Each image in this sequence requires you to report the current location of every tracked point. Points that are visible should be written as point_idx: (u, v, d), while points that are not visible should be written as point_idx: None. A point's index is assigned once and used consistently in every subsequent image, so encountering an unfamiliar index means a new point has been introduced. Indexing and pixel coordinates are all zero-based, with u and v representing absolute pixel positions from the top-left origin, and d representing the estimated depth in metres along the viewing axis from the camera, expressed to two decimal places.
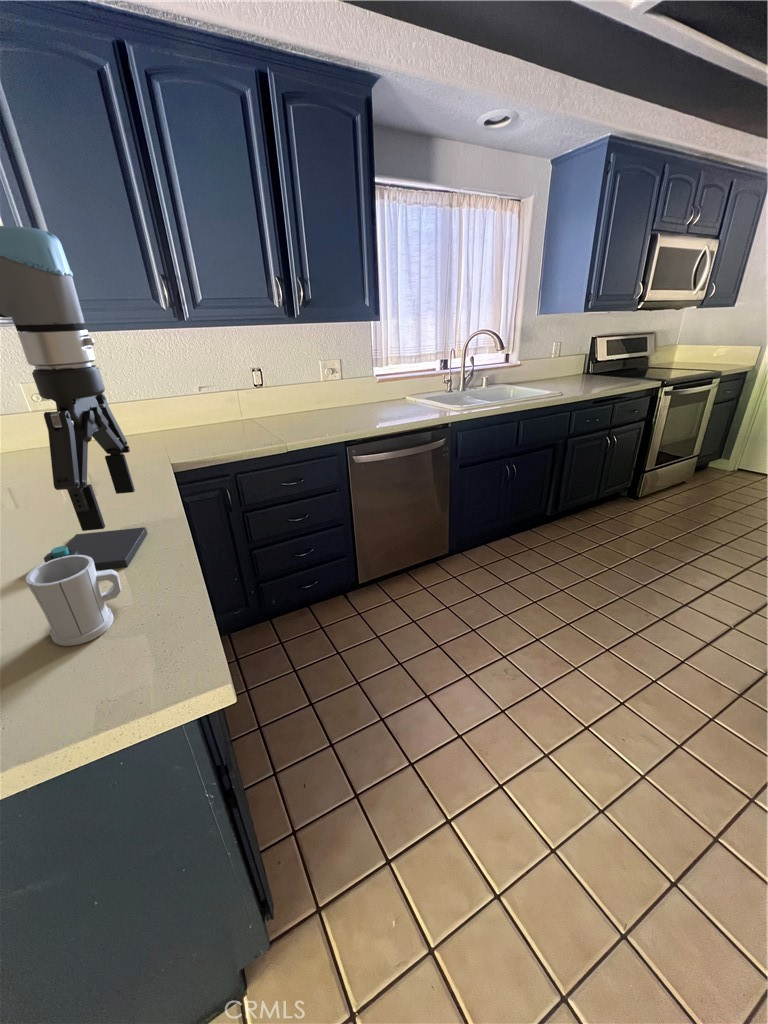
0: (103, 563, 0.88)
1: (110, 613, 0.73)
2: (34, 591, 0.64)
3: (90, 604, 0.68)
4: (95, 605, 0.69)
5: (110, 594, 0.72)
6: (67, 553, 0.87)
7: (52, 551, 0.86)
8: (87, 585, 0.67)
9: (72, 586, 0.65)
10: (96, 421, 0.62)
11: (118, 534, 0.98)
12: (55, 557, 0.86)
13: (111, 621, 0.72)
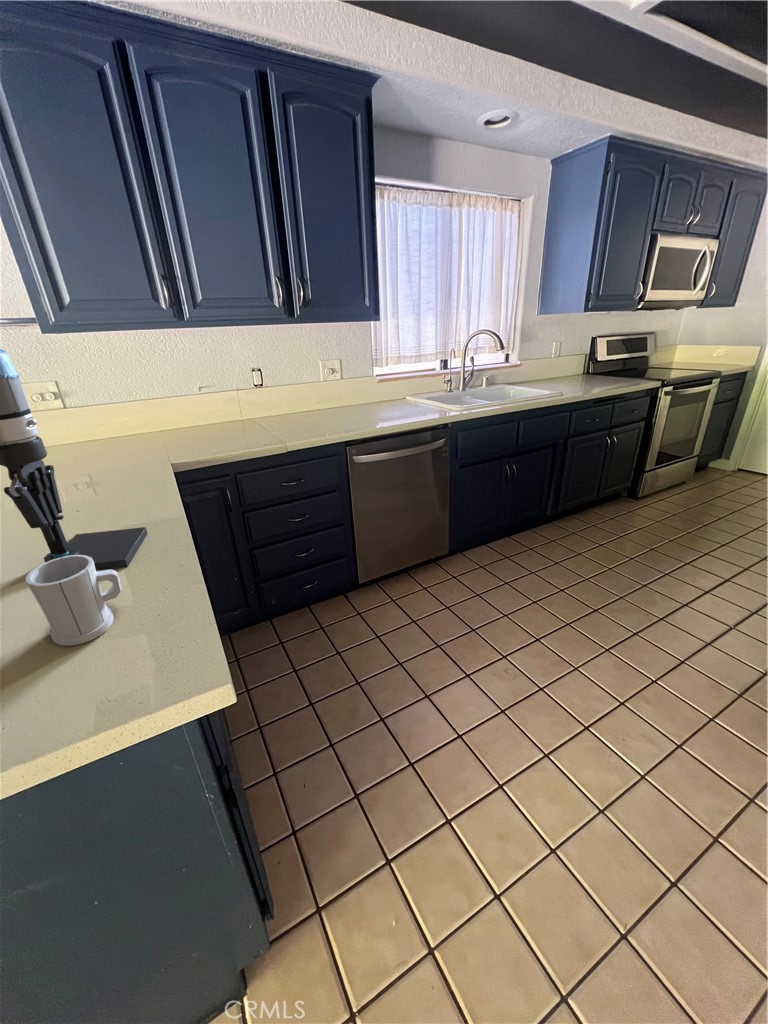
0: (103, 563, 0.88)
1: (110, 613, 0.73)
2: (34, 591, 0.64)
3: (90, 604, 0.68)
4: (95, 605, 0.69)
5: (110, 594, 0.72)
6: None
7: (53, 555, 0.87)
8: (87, 585, 0.67)
9: (72, 586, 0.65)
10: None
11: (118, 534, 0.98)
12: None
13: (111, 621, 0.72)
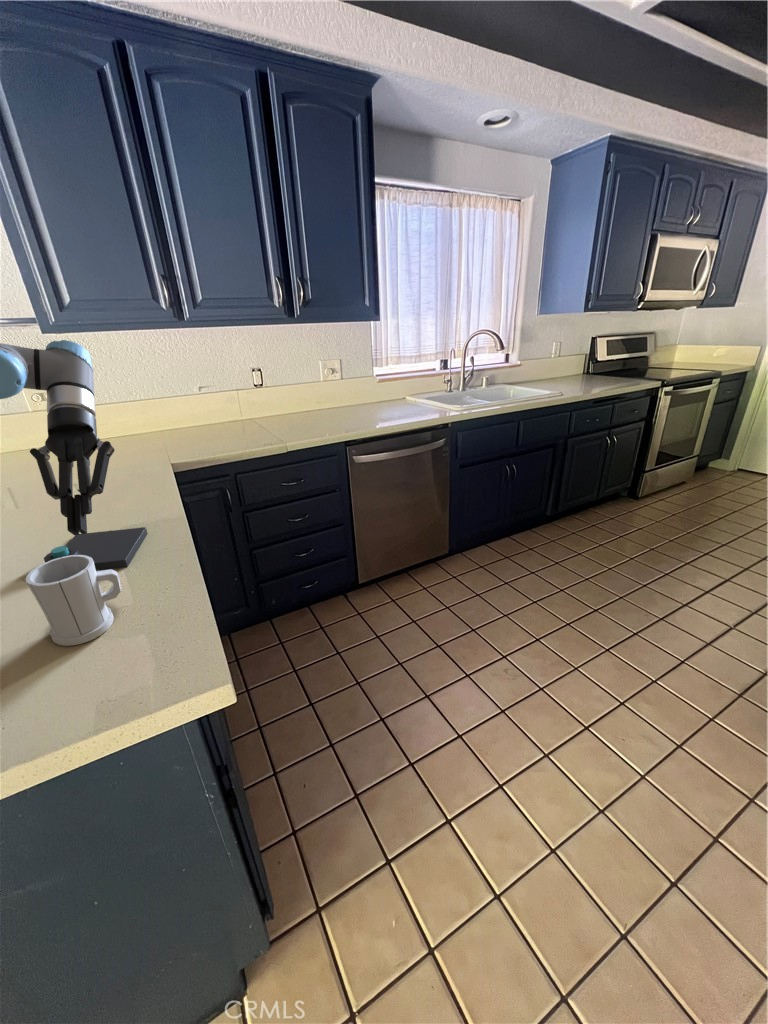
0: (103, 563, 0.88)
1: (110, 613, 0.73)
2: (34, 591, 0.64)
3: (90, 604, 0.68)
4: (95, 605, 0.69)
5: (110, 594, 0.72)
6: (67, 553, 0.87)
7: (52, 551, 0.86)
8: (87, 585, 0.67)
9: (72, 586, 0.65)
10: None
11: (118, 534, 0.98)
12: (55, 557, 0.86)
13: (111, 621, 0.72)
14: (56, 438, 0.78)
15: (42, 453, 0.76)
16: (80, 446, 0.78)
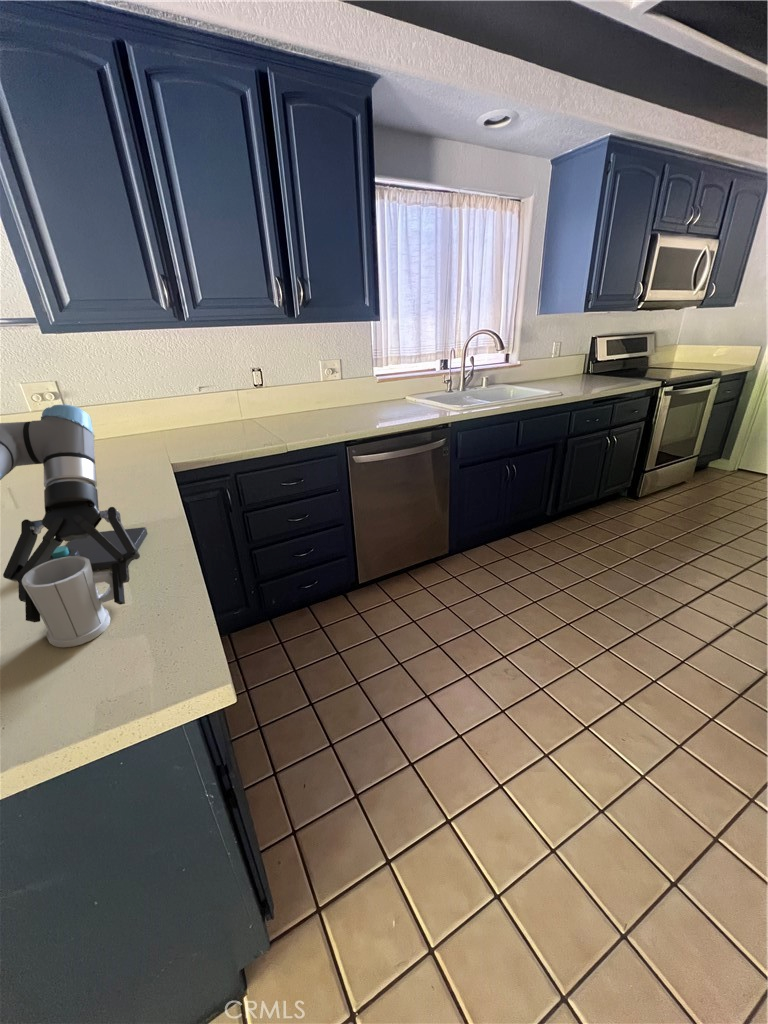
0: (103, 563, 0.88)
1: (107, 615, 0.73)
2: (30, 592, 0.63)
3: (86, 606, 0.68)
4: (91, 607, 0.69)
5: (107, 596, 0.71)
6: (67, 553, 0.87)
7: None
8: (83, 587, 0.67)
9: (68, 588, 0.64)
10: None
11: None
12: (55, 557, 0.86)
13: (108, 623, 0.72)
14: (54, 516, 0.71)
15: (31, 528, 0.70)
16: (85, 521, 0.72)
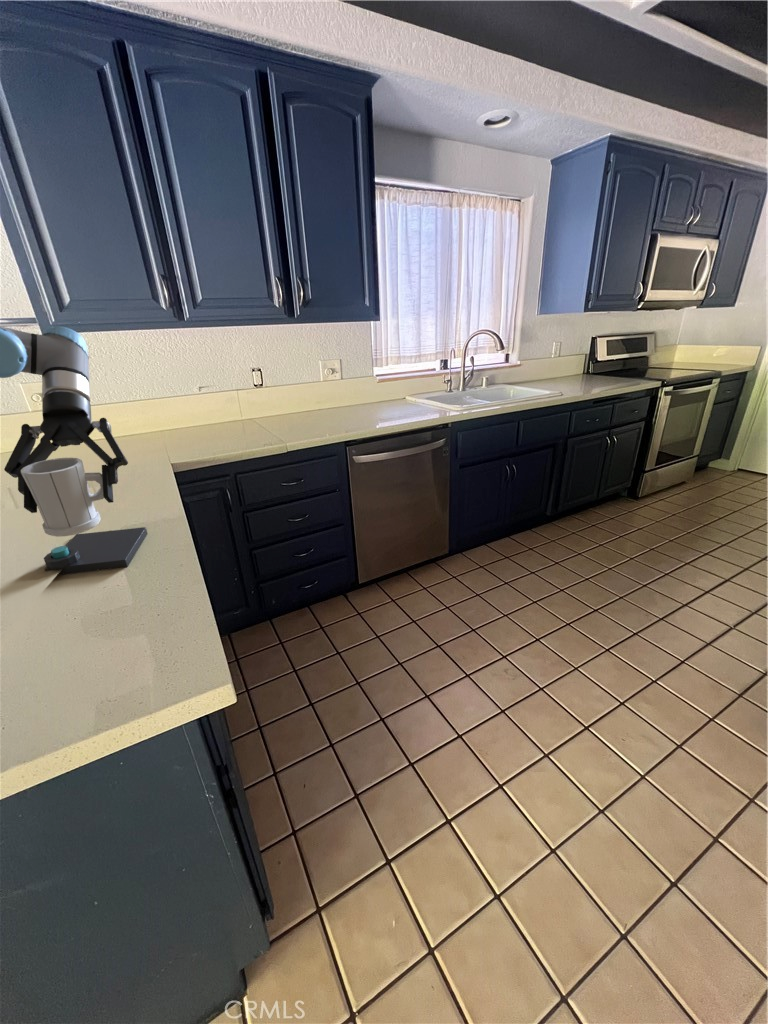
0: (103, 563, 0.88)
1: (97, 514, 0.81)
2: (28, 480, 0.71)
3: (78, 499, 0.75)
4: (83, 501, 0.76)
5: (97, 495, 0.79)
6: (67, 553, 0.87)
7: (52, 551, 0.86)
8: (75, 480, 0.74)
9: (61, 478, 0.72)
10: None
11: (118, 534, 0.98)
12: (55, 557, 0.86)
13: (98, 520, 0.80)
14: (51, 422, 0.79)
15: (30, 432, 0.78)
16: (78, 428, 0.79)
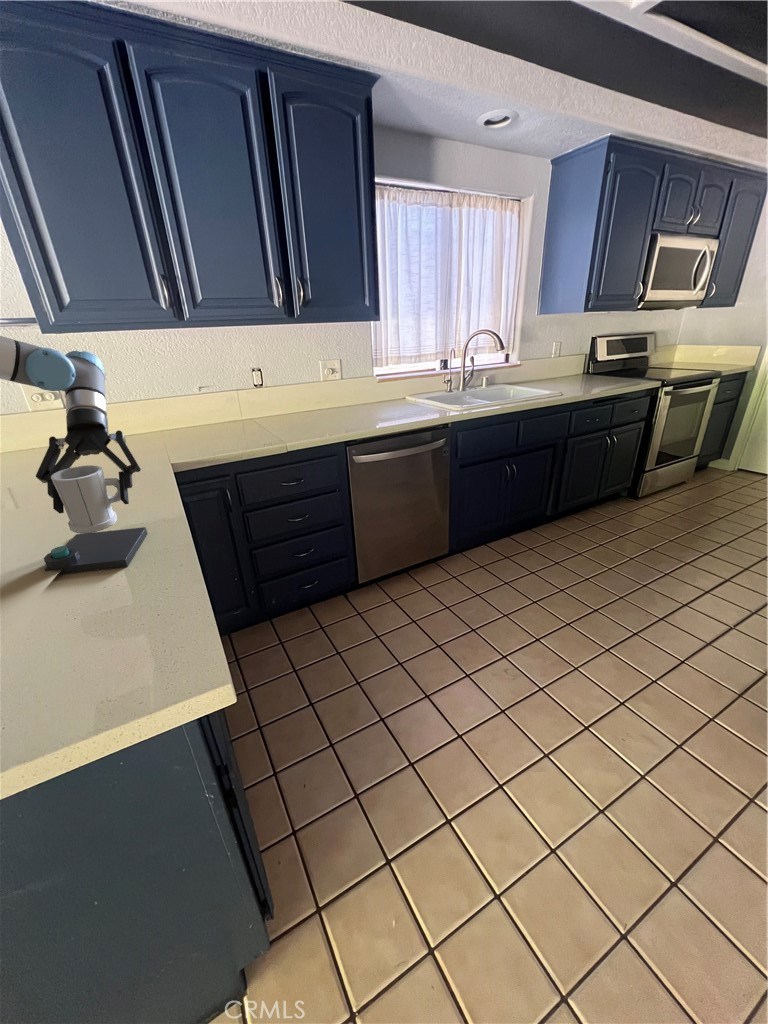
0: (103, 563, 0.88)
1: (114, 514, 0.93)
2: (57, 485, 0.84)
3: (99, 501, 0.88)
4: (103, 503, 0.89)
5: (115, 497, 0.91)
6: (67, 553, 0.87)
7: (52, 551, 0.86)
8: (97, 485, 0.87)
9: (86, 483, 0.85)
10: None
11: (118, 534, 0.98)
12: (55, 557, 0.86)
13: (115, 519, 0.92)
14: (74, 435, 0.92)
15: (56, 443, 0.90)
16: (98, 439, 0.92)
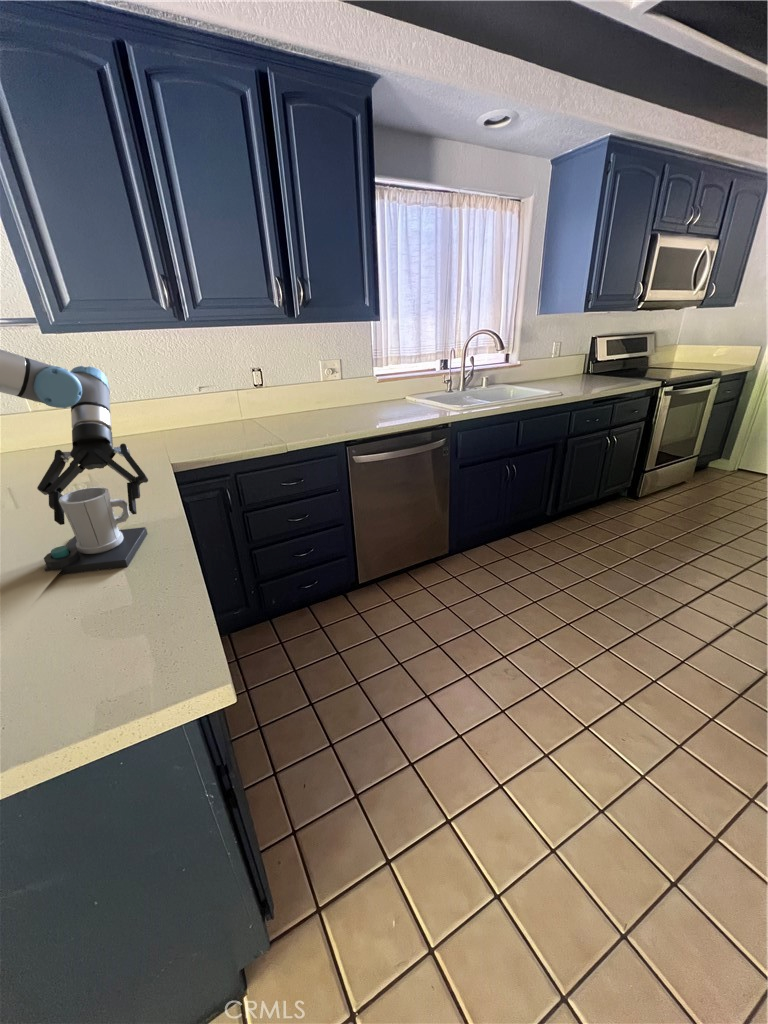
0: (103, 563, 0.88)
1: (121, 534, 0.95)
2: (65, 508, 0.86)
3: (106, 522, 0.90)
4: (109, 524, 0.91)
5: (121, 518, 0.94)
6: (67, 553, 0.87)
7: (52, 551, 0.86)
8: (104, 507, 0.89)
9: (93, 506, 0.87)
10: None
11: None
12: (55, 557, 0.86)
13: (121, 539, 0.94)
14: (79, 449, 0.93)
15: (62, 457, 0.92)
16: (103, 453, 0.94)
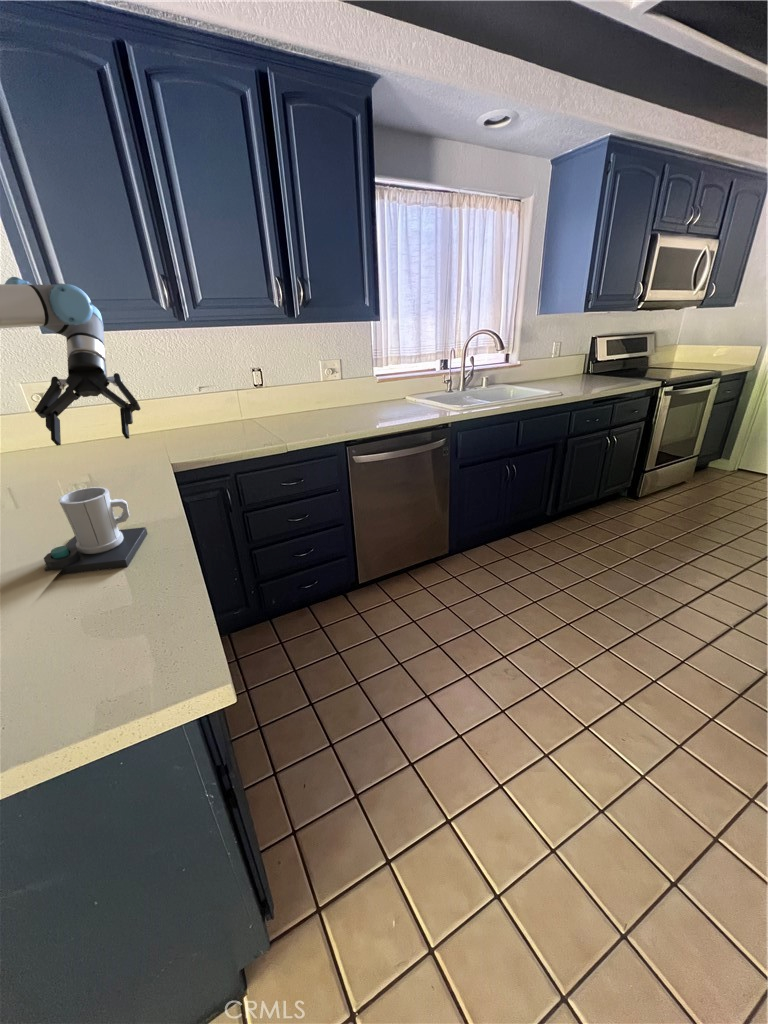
0: (103, 563, 0.88)
1: (121, 534, 0.95)
2: (65, 508, 0.86)
3: (106, 522, 0.90)
4: (109, 524, 0.91)
5: (121, 518, 0.94)
6: (67, 553, 0.87)
7: (52, 551, 0.86)
8: (104, 507, 0.89)
9: (93, 506, 0.87)
10: None
11: None
12: (55, 557, 0.86)
13: (121, 539, 0.94)
14: (75, 377, 0.98)
15: (58, 383, 0.97)
16: (97, 381, 0.98)
